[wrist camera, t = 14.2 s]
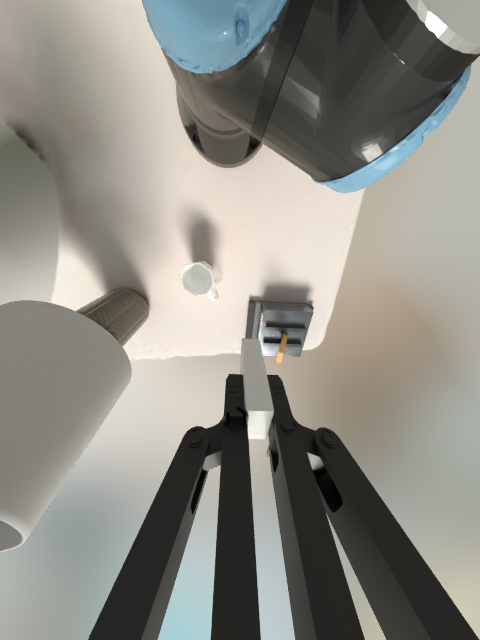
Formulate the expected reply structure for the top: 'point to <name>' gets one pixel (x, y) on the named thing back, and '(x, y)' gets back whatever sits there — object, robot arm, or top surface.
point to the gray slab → (253, 319)
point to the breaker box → (283, 327)
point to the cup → (198, 279)
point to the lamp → (56, 395)
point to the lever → (282, 347)
